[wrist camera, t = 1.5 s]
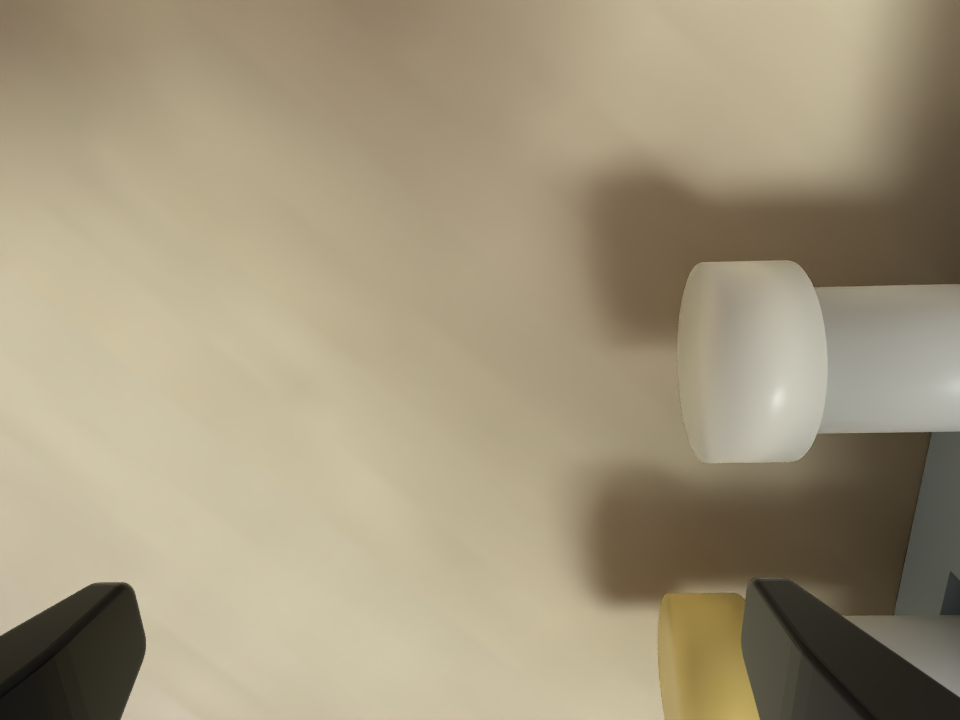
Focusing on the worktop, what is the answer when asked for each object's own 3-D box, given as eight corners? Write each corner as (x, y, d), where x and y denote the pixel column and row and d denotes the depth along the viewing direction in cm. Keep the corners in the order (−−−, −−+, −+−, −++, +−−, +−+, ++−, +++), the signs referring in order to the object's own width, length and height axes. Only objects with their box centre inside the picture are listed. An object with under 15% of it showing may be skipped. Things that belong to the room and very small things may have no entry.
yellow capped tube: (950, 681, 22) (1057, 821, 17) (654, 681, 22) (689, 819, 18) (982, 557, 20) (1106, 678, 16) (662, 560, 20) (702, 679, 16)
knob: (1020, 406, 18) (1169, 497, 14) (672, 411, 19) (719, 502, 15) (1064, 233, 17) (1244, 280, 13) (684, 243, 17) (740, 292, 13)
